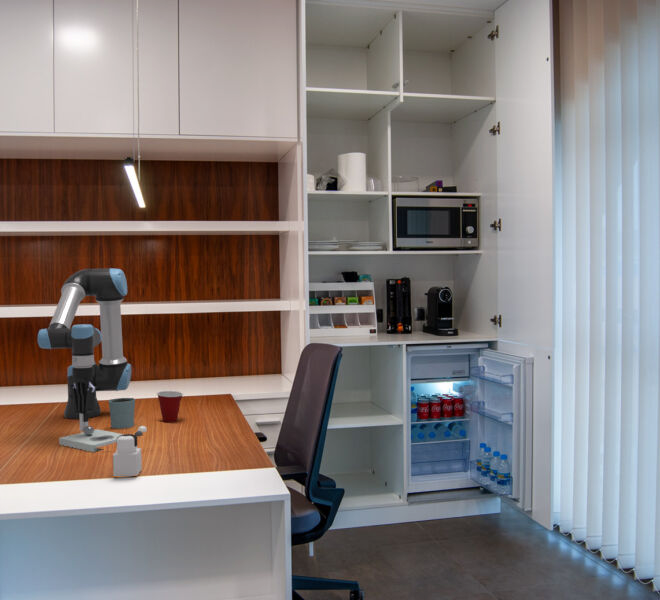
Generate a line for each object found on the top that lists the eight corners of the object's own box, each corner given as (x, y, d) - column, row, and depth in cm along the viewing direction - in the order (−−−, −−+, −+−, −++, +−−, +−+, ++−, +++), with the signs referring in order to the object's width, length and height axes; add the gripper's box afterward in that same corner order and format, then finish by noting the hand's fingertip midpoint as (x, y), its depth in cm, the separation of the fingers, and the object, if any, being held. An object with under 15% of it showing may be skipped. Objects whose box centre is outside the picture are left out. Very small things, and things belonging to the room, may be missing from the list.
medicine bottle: (118, 471, 206) (117, 433, 205) (141, 470, 206) (141, 432, 206) (112, 478, 198) (112, 438, 198) (137, 477, 199) (136, 437, 199)
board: (59, 444, 240) (59, 437, 240) (97, 435, 253) (97, 429, 253) (93, 452, 228) (93, 445, 228) (131, 442, 241) (131, 435, 241)
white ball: (135, 435, 253) (135, 426, 252) (143, 433, 255) (142, 424, 255) (141, 436, 251) (141, 427, 250) (149, 434, 253) (148, 425, 253)
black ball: (132, 439, 246) (132, 431, 246) (139, 437, 249) (139, 429, 249) (138, 440, 244) (137, 432, 244) (144, 438, 247) (144, 430, 247)
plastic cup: (177, 424, 271) (176, 395, 271) (152, 423, 273) (152, 394, 273) (188, 418, 282) (187, 390, 281) (164, 417, 284) (163, 389, 284)
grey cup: (114, 433, 255) (113, 403, 255) (105, 429, 263) (104, 399, 263) (139, 430, 261) (139, 399, 261) (130, 425, 270) (129, 396, 269)
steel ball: (80, 428, 242) (85, 426, 240) (89, 426, 245) (94, 424, 243) (83, 437, 242) (88, 435, 240) (91, 435, 244) (96, 433, 242)
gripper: (63, 366, 243) (64, 430, 244) (84, 369, 236) (85, 434, 237) (81, 364, 249) (82, 426, 250) (102, 366, 242) (103, 430, 243)
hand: (84, 430), depth 243 cm, fingers closed
